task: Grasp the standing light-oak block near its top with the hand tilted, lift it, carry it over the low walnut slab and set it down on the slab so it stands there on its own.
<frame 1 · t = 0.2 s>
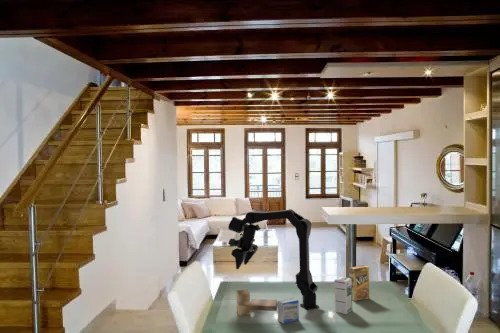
hand: (241, 266, 213), 15 cm above the table, tool tilted 15°, fingers open, 9 cm apart
walnut slab: (263, 306, 202), on the table
medicine box: (288, 321, 184), on the table
candy box: (359, 299, 210), on the table
oak pillar: (243, 312, 194), on the table
syrup box: (343, 311, 194), on the table
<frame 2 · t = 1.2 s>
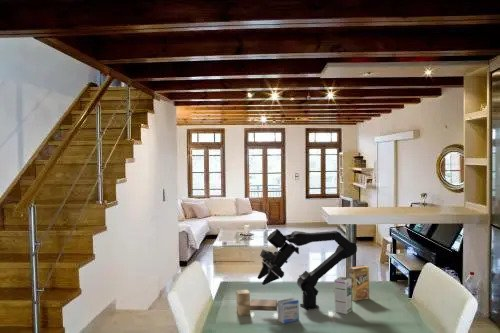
hand: (260, 281, 195), 13 cm above the table, tool tilted 45°, fingers open, 9 cm apart
nothing on the table moved.
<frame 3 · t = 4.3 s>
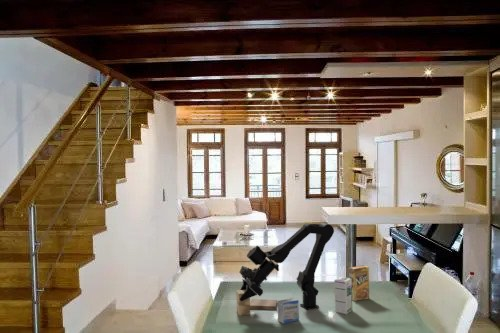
hand: (239, 298, 193), 7 cm above the table, tool tilted 45°, fingers closed on oak pillar, 5 cm apart
oak pillar: (243, 312, 194), on the table, touching gripper
everything else where it was.
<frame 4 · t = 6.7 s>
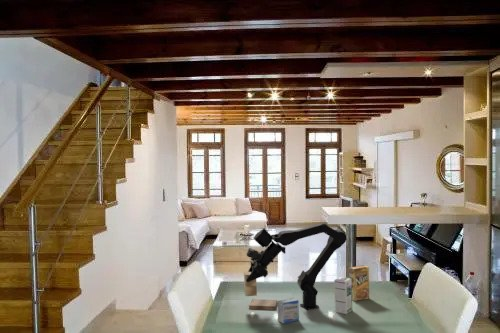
hand: (246, 279, 197), 14 cm above the table, tool tilted 45°, fingers closed on oak pillar, 5 cm apart
oak pillar: (250, 294, 197), point 7 cm above the table, touching gripper
everything else where it was.
when the fingers open (9 cm above the table, at t = 9.1 s): oak pillar stays where it is, resting on walnut slab.
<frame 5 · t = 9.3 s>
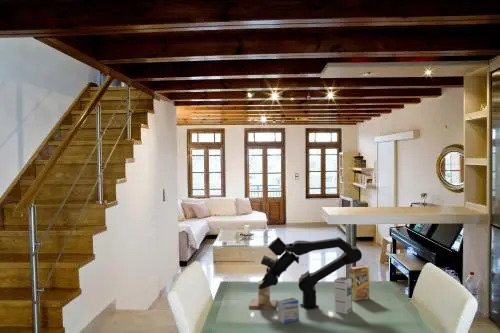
hand: (260, 286, 202), 9 cm above the table, tool tilted 45°, fingers open, 7 cm apart
walnut slab: (263, 307, 202), on the table, touching oak pillar
oak pillar: (264, 302, 202), point 1 cm above the table, touching walnut slab
everything else where it was.
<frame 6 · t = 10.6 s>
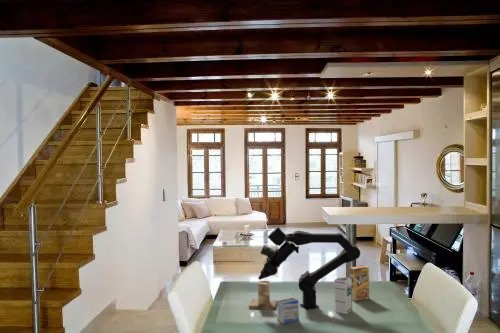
hand: (259, 276, 202), 14 cm above the table, tool tilted 45°, fingers open, 9 cm apart
walnut slab: (263, 307, 202), on the table
oak pillar: (264, 302, 202), point 1 cm above the table
everything else where it was.
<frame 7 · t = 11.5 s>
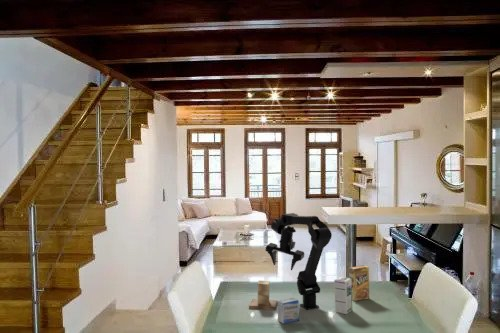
hand: (283, 267, 218), 13 cm above the table, tool pointing down, fingers open, 9 cm apart
nothing on the table moved.
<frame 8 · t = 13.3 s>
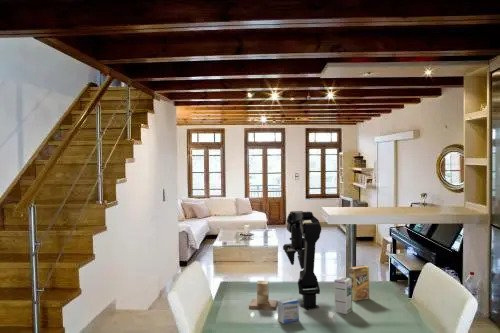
hand: (297, 266, 220), 13 cm above the table, tool pointing down, fingers open, 9 cm apart
walnut slab: (263, 307, 202), on the table, touching oak pillar
oak pillar: (262, 302, 202), point 1 cm above the table, touching walnut slab
everything else where it was.
at the end: oak pillar inside the target area on the walnut slab (0.2 cm from its centre), point 2.0 cm above the walnut slab's base; oak pillar tilted 0°; the gripper is holding nothing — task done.
